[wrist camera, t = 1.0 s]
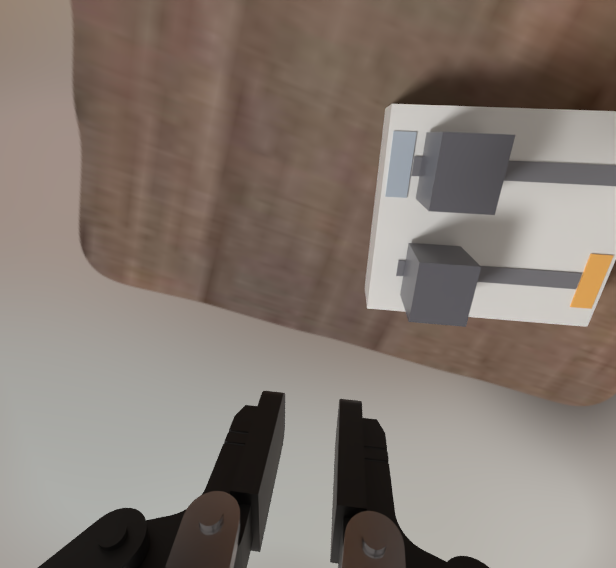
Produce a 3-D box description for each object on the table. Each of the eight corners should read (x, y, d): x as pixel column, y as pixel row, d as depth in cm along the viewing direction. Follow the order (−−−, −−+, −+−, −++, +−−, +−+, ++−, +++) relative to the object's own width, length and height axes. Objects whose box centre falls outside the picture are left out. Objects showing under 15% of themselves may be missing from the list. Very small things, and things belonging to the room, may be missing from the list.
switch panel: (364, 287, 30) (367, 308, 26) (385, 108, 24) (392, 103, 21) (556, 302, 29) (588, 327, 25) (625, 116, 23) (679, 113, 19)
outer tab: (400, 294, 25) (408, 321, 22) (408, 242, 24) (419, 262, 20) (448, 298, 25) (465, 326, 21) (460, 246, 23) (481, 266, 20)
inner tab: (415, 198, 22) (428, 211, 19) (426, 132, 21) (443, 131, 17) (470, 201, 22) (494, 215, 19) (485, 134, 21) (515, 134, 17)
